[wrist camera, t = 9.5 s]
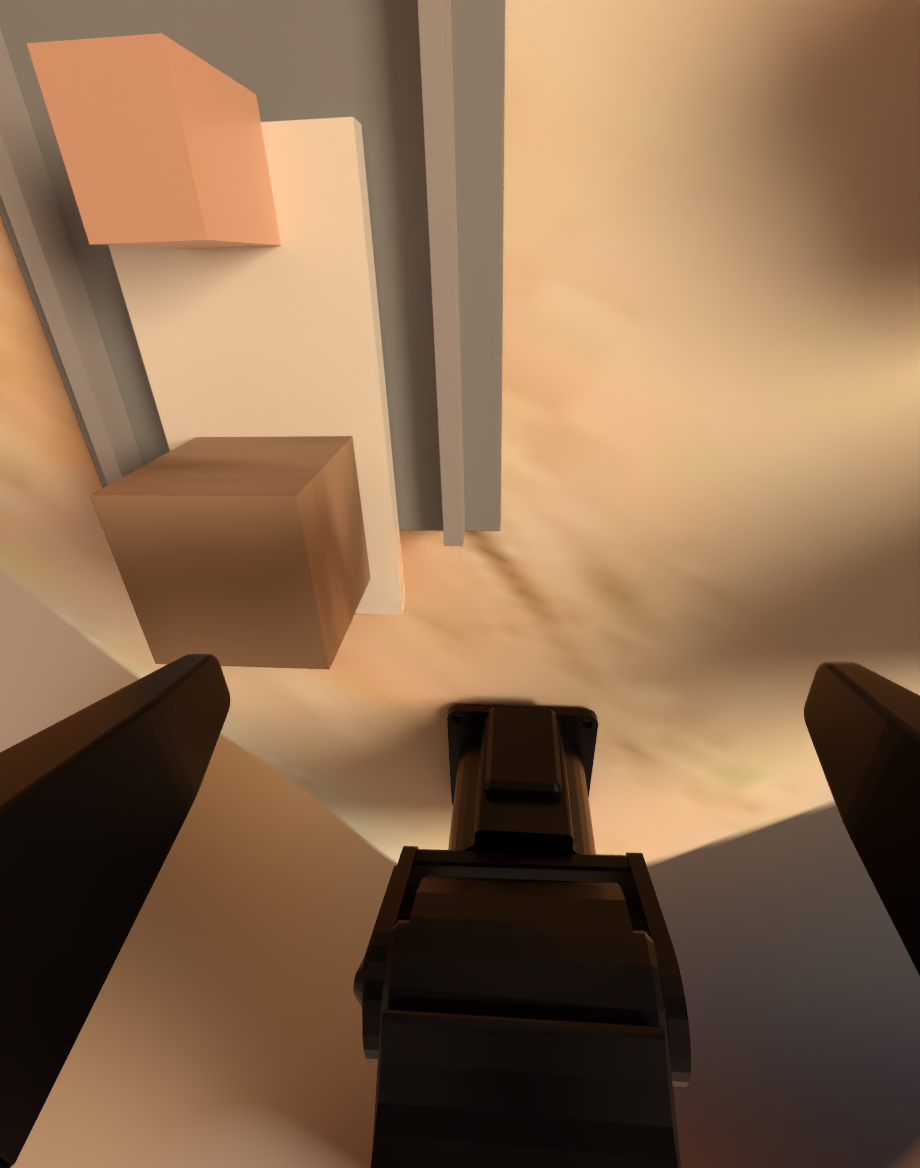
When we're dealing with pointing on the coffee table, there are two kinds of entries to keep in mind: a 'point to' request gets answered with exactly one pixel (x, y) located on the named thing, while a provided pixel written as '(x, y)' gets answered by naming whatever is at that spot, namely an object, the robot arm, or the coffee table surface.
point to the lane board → (396, 204)
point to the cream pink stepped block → (234, 257)
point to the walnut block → (242, 548)
